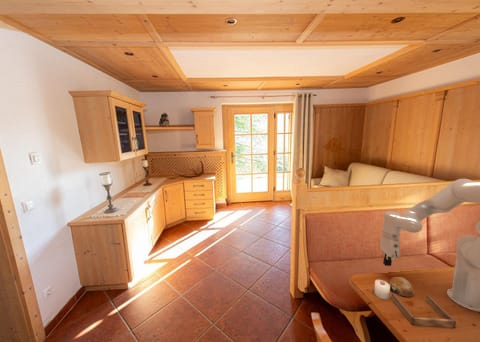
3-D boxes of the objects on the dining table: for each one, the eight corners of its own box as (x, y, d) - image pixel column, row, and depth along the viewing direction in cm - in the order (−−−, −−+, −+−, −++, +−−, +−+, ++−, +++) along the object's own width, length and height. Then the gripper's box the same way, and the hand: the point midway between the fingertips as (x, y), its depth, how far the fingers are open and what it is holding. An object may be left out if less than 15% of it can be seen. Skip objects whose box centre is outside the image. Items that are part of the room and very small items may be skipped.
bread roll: (413, 305, 94) (423, 292, 92) (392, 294, 95) (401, 282, 94) (401, 289, 104) (409, 278, 102) (382, 280, 105) (390, 269, 103)
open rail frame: (427, 300, 92) (427, 294, 92) (455, 327, 79) (456, 321, 78) (391, 298, 94) (391, 292, 94) (412, 325, 81) (413, 318, 80)
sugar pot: (384, 290, 99) (385, 277, 98) (392, 299, 93) (393, 285, 92) (371, 289, 100) (372, 276, 99) (378, 299, 94) (379, 285, 93)
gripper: (408, 242, 98) (403, 274, 101) (389, 228, 112) (386, 257, 115) (392, 241, 98) (388, 273, 102) (375, 227, 113) (372, 256, 116)
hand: (387, 264), depth 108 cm, fingers closed
